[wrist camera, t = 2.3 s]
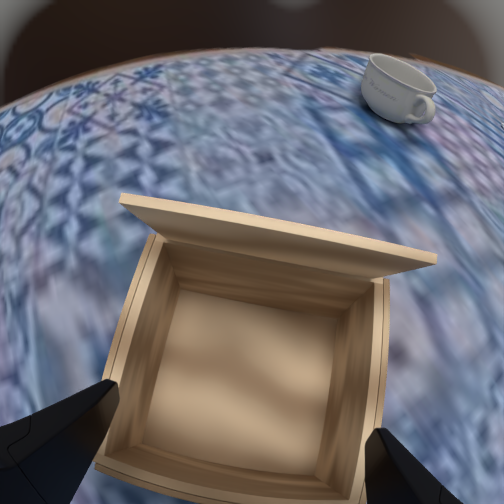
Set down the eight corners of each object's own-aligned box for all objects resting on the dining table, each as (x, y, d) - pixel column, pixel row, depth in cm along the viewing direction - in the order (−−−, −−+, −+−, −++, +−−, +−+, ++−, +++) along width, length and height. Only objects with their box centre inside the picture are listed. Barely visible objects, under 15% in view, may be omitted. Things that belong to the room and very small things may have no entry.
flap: (436, 264, 10) (437, 251, 10) (118, 202, 11) (122, 190, 11) (372, 278, 17) (374, 270, 17) (166, 239, 18) (168, 230, 18)
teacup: (349, 86, 43) (361, 46, 36) (405, 99, 44) (421, 63, 37) (370, 139, 36) (390, 91, 29) (435, 153, 37) (459, 112, 30)
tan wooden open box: (322, 486, 18) (362, 514, 11) (129, 450, 18) (83, 464, 11) (347, 315, 25) (389, 276, 18) (172, 282, 25) (150, 230, 18)
